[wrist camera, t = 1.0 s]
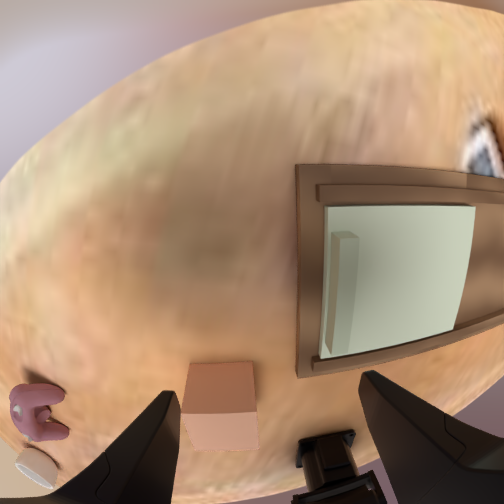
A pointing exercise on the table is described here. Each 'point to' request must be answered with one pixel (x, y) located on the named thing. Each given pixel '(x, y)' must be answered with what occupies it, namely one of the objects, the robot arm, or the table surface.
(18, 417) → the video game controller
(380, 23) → the table surface
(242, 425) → the block
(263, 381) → the table surface
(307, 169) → the board
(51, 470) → the teacup
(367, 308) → the lid
